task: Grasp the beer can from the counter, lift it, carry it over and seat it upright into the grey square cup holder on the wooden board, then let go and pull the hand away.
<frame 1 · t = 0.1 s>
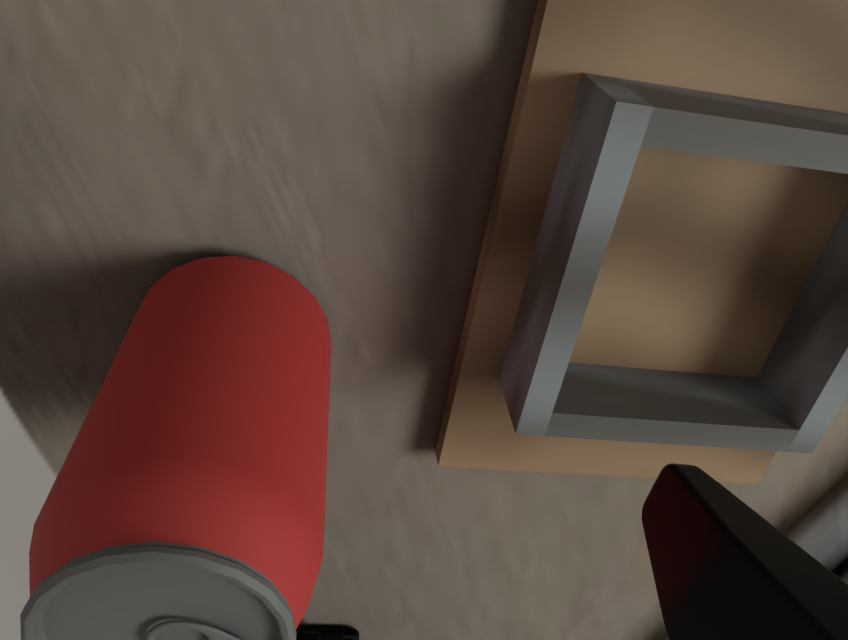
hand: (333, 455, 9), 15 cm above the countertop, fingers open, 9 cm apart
beer can: (238, 327, 25), on the countertop
can holder: (679, 248, 25), on the countertop
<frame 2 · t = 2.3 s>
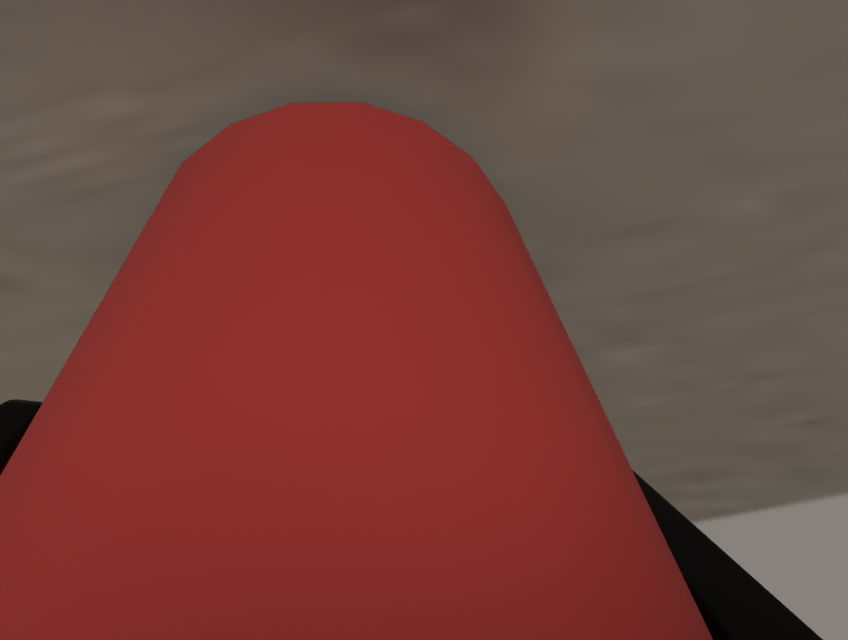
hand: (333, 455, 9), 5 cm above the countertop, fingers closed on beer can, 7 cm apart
beer can: (338, 263, 13), on the countertop, touching gripper
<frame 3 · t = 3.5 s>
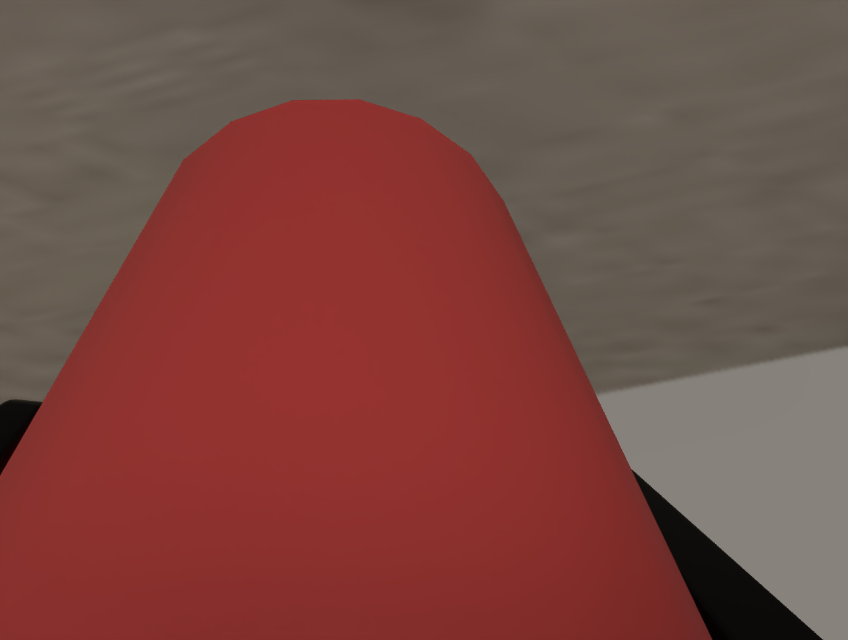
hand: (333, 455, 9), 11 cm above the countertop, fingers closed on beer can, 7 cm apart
beer can: (337, 260, 13), point 5 cm above the countertop, touching gripper
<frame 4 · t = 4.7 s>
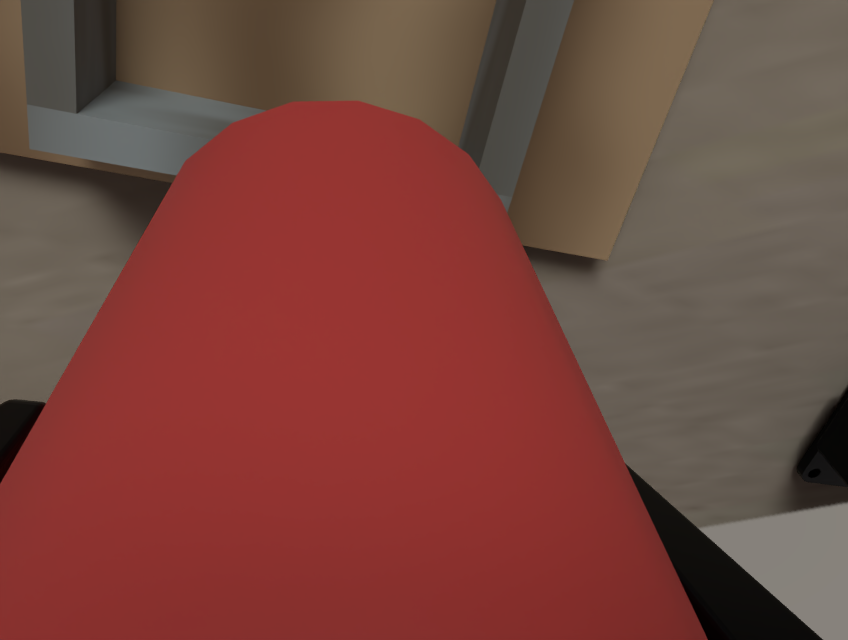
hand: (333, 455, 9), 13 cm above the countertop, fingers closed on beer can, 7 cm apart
beer can: (338, 259, 14), point 8 cm above the countertop, touching gripper
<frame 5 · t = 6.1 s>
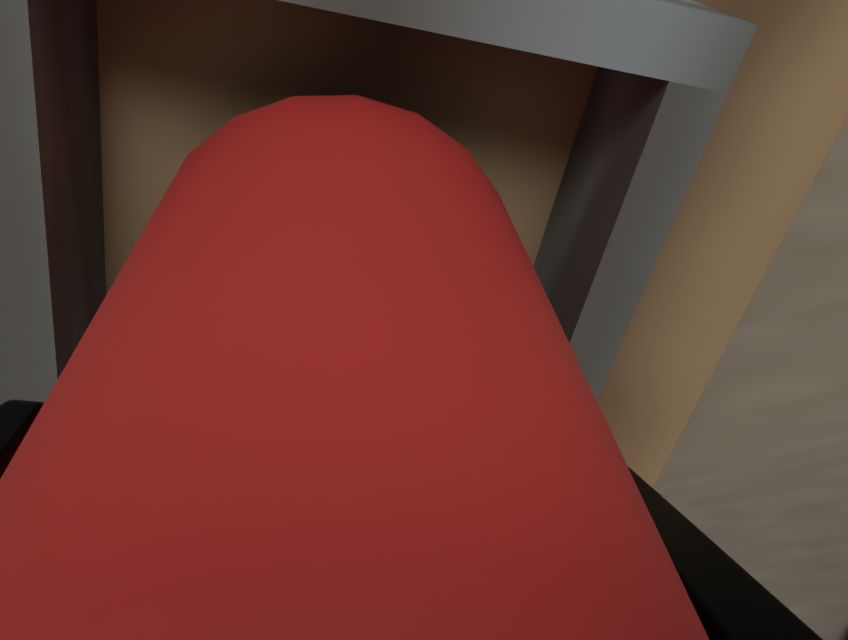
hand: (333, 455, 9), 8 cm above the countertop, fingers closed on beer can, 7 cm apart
beer can: (338, 252, 14), point 2 cm above the countertop, touching gripper
can holder: (333, 203, 15), on the countertop
when the fingers open (7 cm above the countertop, at t = 7.1 s): beer can stays where it is, resting on can holder.
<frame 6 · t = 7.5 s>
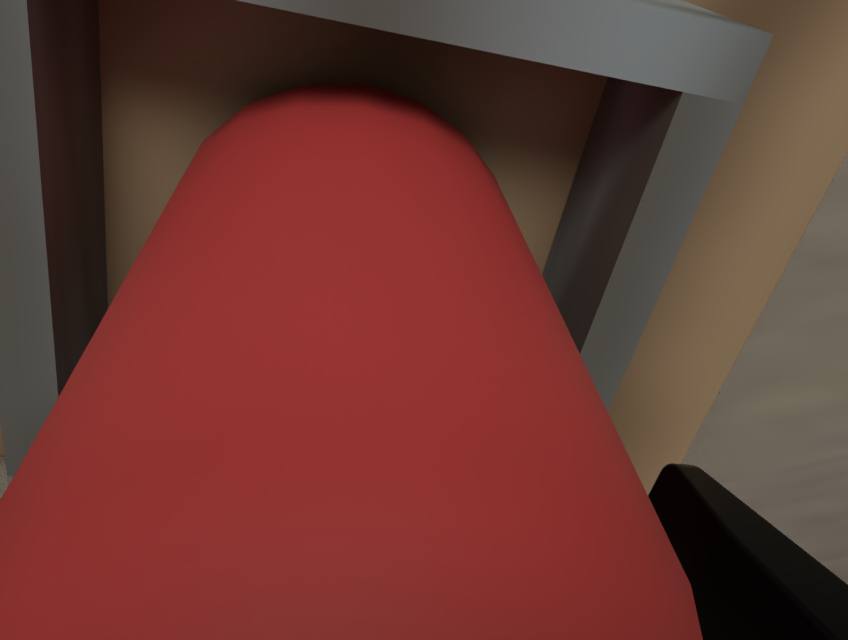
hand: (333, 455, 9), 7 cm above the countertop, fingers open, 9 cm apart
beer can: (343, 234, 15), point 1 cm above the countertop, touching can holder
can holder: (338, 213, 15), on the countertop
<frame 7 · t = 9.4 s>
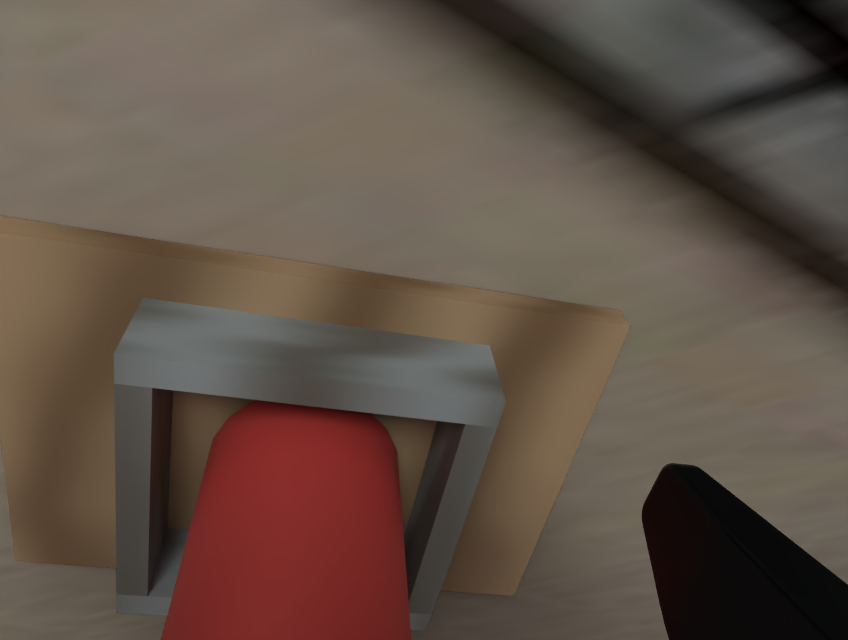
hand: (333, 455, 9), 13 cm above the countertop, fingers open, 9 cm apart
beer can: (305, 450, 25), point 1 cm above the countertop, touching can holder
can holder: (303, 433, 26), on the countertop
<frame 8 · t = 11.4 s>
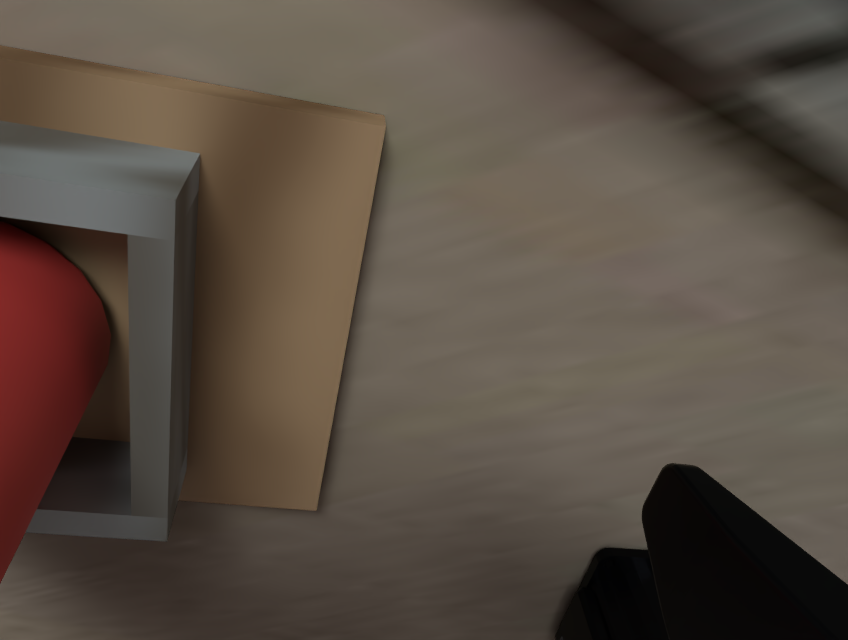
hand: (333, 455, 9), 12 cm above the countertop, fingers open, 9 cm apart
can holder: (2, 290, 20), on the countertop
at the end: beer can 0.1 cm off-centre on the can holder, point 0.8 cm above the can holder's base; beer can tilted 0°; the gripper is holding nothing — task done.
